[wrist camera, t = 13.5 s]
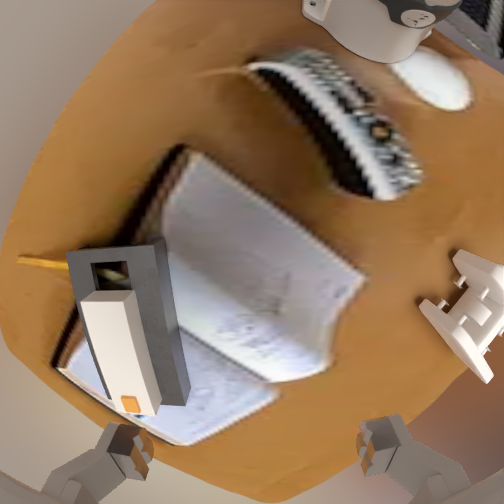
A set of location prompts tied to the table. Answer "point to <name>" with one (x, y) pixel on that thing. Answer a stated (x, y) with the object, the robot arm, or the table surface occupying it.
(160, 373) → the keyhole plate
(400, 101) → the table surface
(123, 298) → the power strip
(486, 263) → the cable organizer
